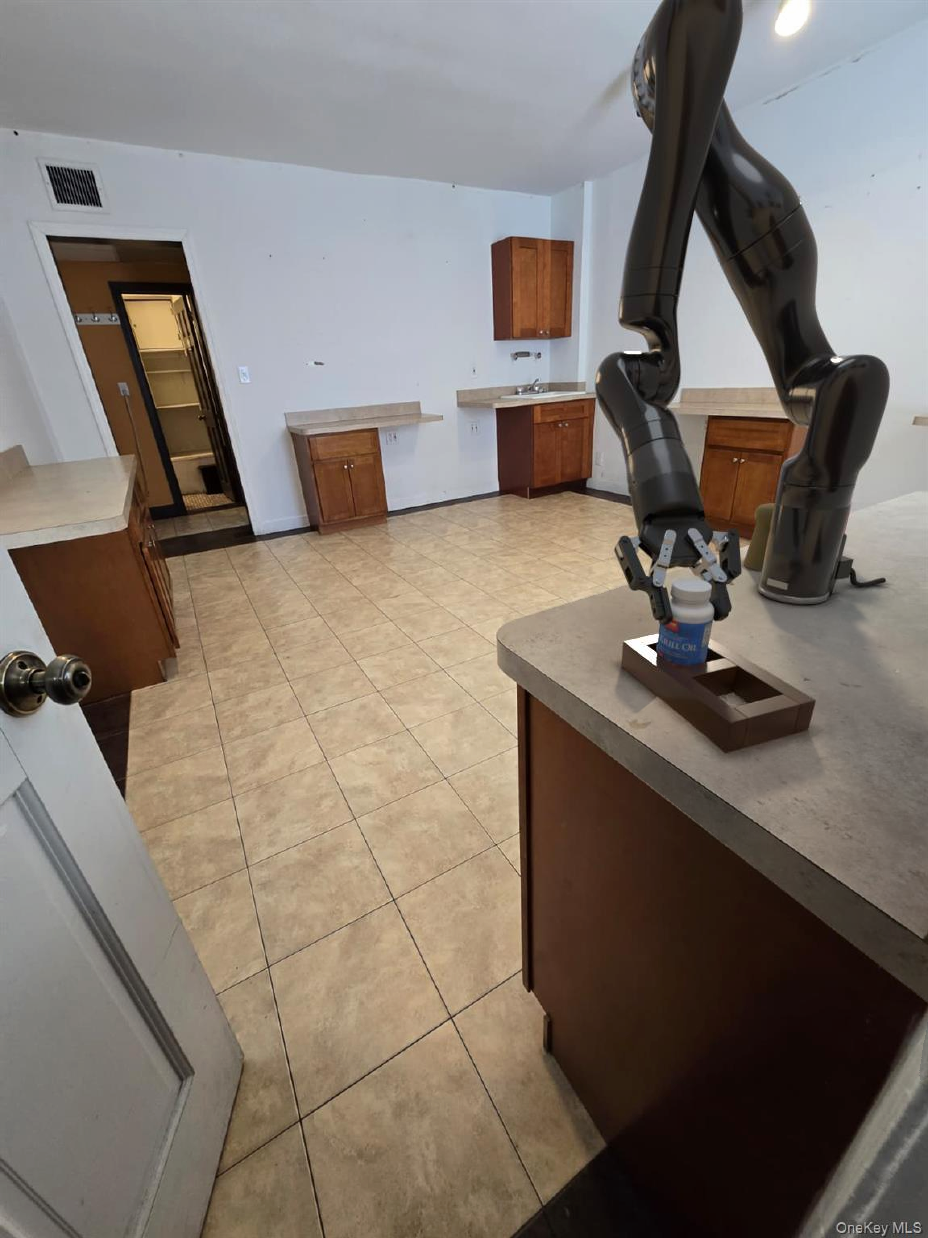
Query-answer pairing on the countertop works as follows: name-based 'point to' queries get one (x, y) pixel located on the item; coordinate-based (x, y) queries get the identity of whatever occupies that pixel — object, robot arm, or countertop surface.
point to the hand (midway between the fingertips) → (694, 620)
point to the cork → (759, 537)
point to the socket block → (723, 673)
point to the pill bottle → (687, 624)
